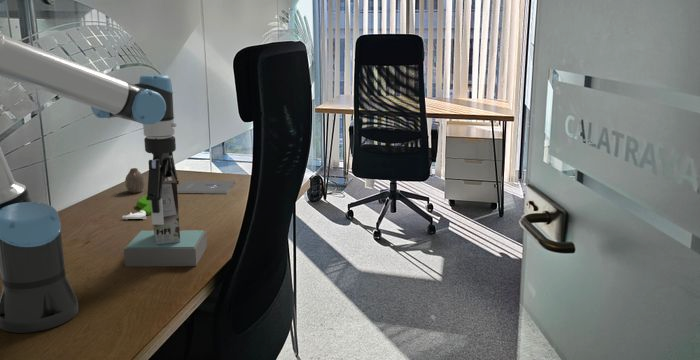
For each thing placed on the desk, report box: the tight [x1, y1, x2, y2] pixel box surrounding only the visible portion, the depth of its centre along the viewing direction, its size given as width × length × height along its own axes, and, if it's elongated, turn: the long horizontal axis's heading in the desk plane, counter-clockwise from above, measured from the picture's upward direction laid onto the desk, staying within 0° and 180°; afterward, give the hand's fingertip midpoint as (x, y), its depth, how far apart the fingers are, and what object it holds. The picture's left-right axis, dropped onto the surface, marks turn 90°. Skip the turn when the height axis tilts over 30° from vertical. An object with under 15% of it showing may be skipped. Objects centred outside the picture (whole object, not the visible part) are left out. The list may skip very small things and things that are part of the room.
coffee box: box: [153, 175, 180, 244], centre depth 155 cm, size 9×6×16 cm
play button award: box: [177, 179, 236, 195], centre depth 227 cm, size 16×2×20 cm
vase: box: [124, 167, 146, 194], centre depth 220 cm, size 7×7×9 cm
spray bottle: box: [121, 194, 151, 220], centre depth 199 cm, size 3×11×25 cm
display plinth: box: [123, 229, 208, 267], centre depth 158 cm, size 14×18×5 cm
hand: (165, 216), depth 156 cm, fingers open, 13 cm apart
